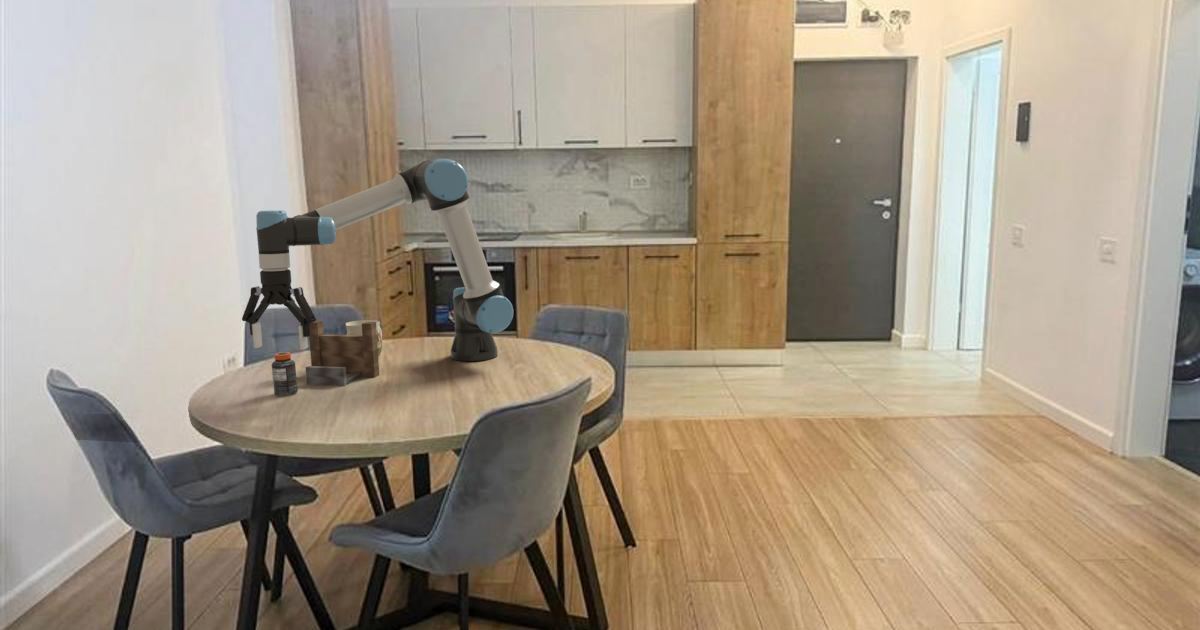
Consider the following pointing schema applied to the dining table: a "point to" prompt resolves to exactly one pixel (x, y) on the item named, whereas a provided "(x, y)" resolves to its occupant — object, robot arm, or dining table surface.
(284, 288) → the robot arm
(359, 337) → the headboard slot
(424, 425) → the dining table surface
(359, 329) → the pitcher
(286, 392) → the pill bottle
